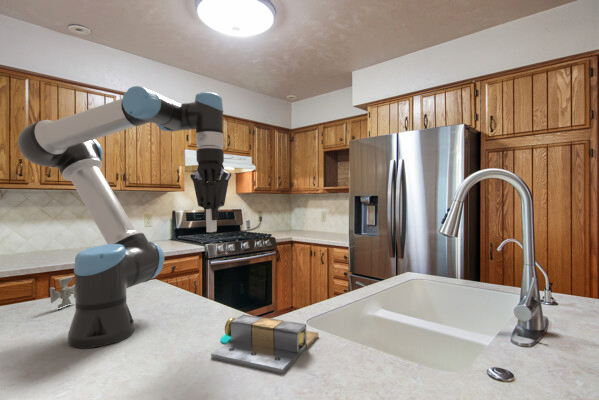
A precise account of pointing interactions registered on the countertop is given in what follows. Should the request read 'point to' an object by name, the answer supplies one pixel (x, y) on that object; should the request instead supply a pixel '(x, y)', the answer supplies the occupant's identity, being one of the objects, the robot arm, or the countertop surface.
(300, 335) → the pin
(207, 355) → the countertop surface
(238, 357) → the sliding bolt latch
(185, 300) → the countertop surface
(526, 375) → the countertop surface
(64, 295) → the cross
